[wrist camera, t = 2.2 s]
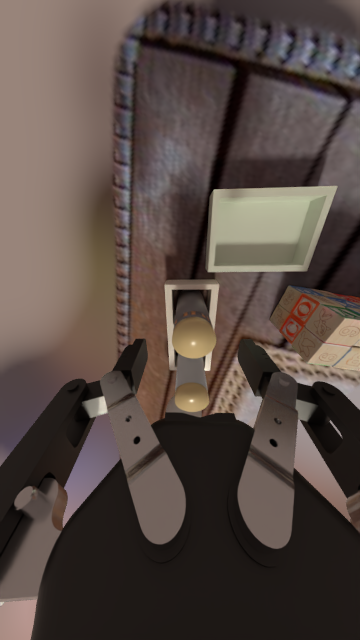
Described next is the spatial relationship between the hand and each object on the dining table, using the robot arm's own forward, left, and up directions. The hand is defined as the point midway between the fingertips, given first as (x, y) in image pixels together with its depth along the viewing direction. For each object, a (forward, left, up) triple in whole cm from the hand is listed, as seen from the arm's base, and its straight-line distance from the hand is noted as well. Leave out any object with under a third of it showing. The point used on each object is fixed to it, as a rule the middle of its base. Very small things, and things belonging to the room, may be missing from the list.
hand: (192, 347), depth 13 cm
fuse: (0, +8, -12) cm, 15 cm away
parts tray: (-8, -9, -12) cm, 17 cm away
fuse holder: (0, +4, -12) cm, 13 cm away
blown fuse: (0, 0, -12) cm, 12 cm away
